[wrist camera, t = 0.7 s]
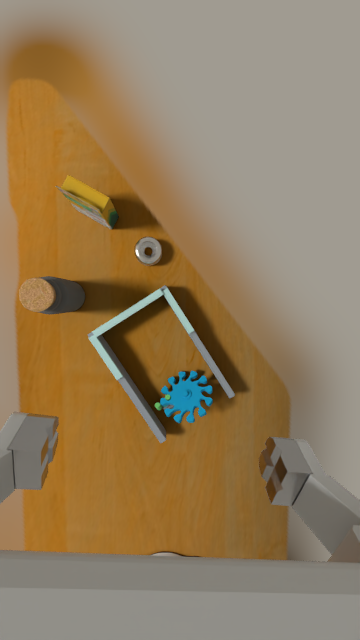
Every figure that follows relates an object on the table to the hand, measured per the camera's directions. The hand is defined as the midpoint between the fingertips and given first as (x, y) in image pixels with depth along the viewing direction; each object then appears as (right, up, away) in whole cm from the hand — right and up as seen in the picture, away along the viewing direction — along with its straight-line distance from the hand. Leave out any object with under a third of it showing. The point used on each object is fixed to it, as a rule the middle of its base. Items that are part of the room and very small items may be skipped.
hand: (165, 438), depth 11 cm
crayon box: (-15, +24, +44) cm, 52 cm away
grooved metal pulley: (-5, +17, +45) cm, 49 cm away
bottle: (-20, +9, +44) cm, 50 cm away
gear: (+1, -9, +47) cm, 48 cm away
